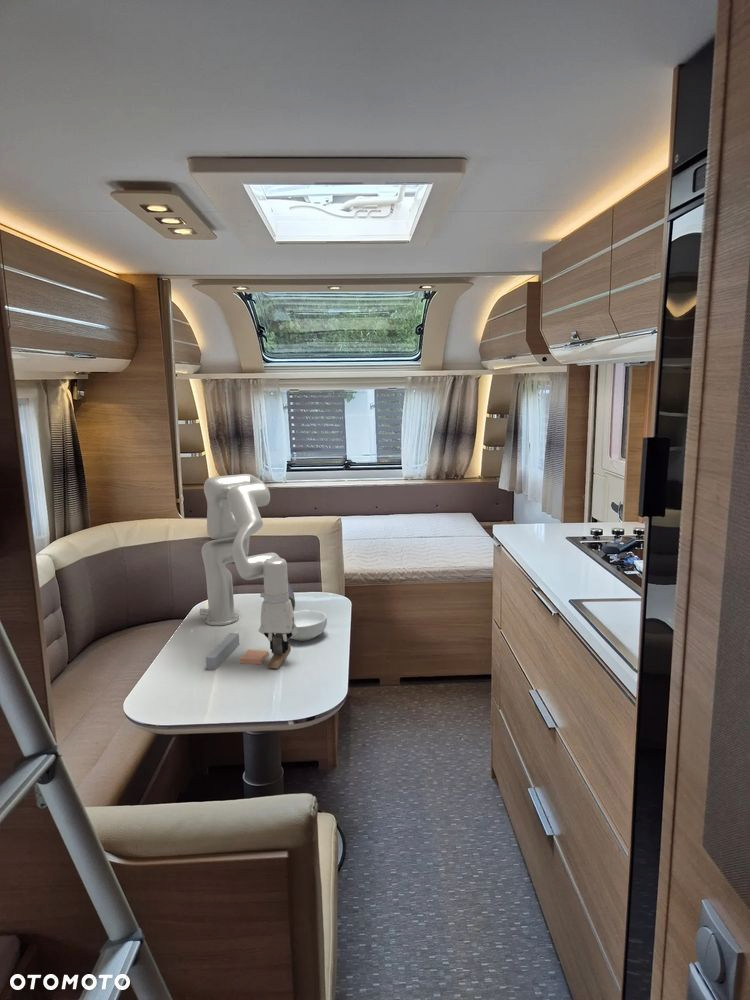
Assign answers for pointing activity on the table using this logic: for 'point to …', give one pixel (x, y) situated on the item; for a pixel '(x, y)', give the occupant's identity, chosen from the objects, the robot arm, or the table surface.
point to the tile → (254, 657)
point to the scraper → (277, 651)
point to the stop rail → (222, 651)
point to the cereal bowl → (309, 624)
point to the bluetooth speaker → (291, 595)
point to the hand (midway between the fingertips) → (279, 651)
